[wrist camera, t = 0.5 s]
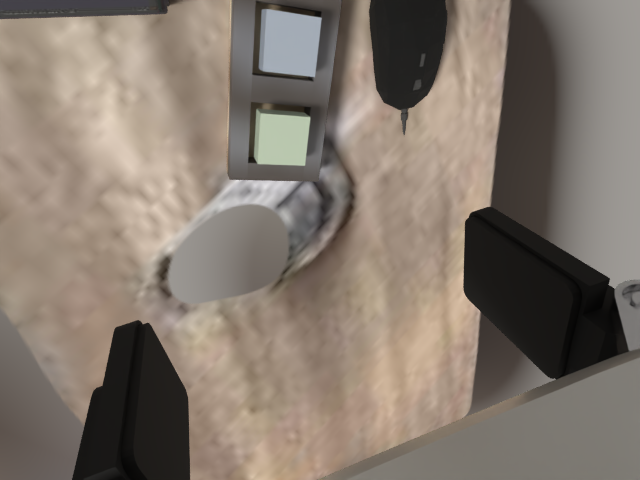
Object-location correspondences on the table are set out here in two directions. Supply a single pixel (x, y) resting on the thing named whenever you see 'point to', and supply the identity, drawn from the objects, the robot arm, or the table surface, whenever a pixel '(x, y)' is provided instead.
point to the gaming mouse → (406, 49)
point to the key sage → (281, 137)
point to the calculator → (79, 8)
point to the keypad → (276, 88)
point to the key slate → (289, 43)
